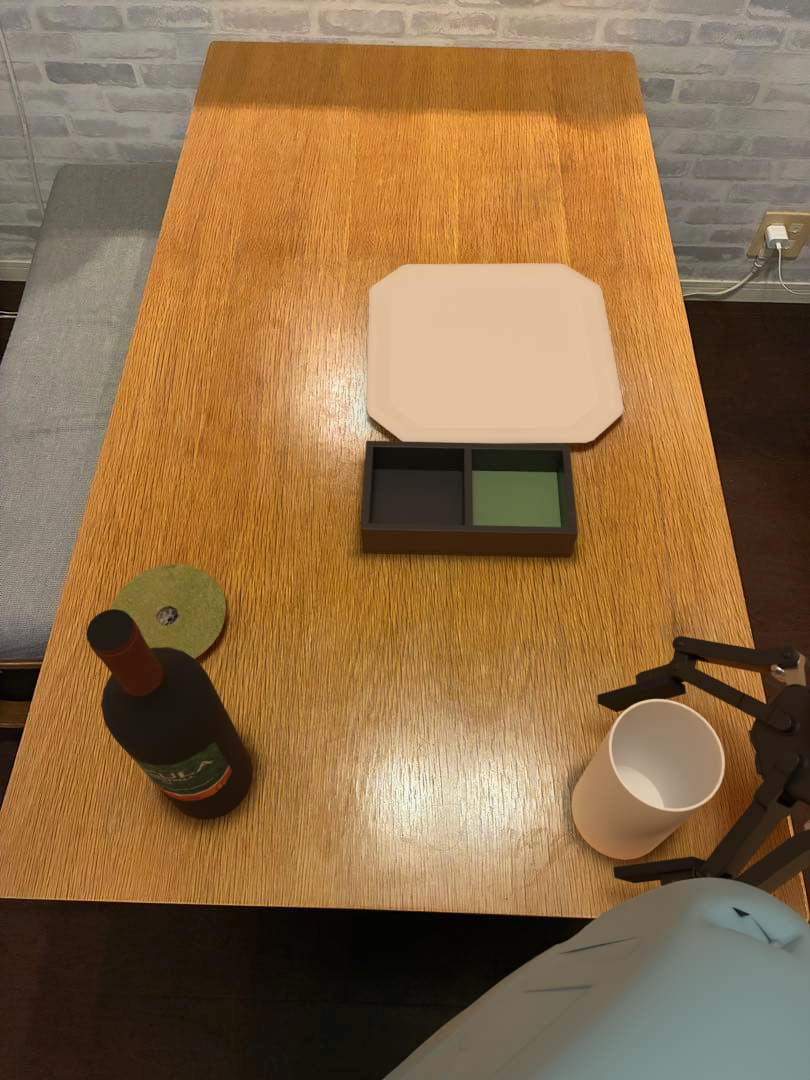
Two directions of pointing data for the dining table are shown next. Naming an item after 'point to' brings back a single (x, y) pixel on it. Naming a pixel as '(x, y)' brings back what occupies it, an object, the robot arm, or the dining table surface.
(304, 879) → the dining table surface
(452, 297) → the plate
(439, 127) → the dining table surface
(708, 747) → the cup
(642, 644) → the dining table surface
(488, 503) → the holder
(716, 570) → the dining table surface
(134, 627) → the wine bottle
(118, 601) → the mat
